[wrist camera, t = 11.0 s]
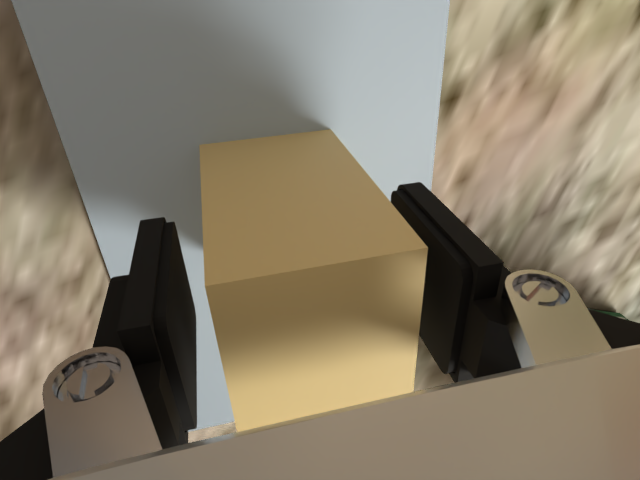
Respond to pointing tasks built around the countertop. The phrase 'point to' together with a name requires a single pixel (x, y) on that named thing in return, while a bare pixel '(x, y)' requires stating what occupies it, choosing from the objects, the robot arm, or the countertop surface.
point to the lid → (260, 177)
